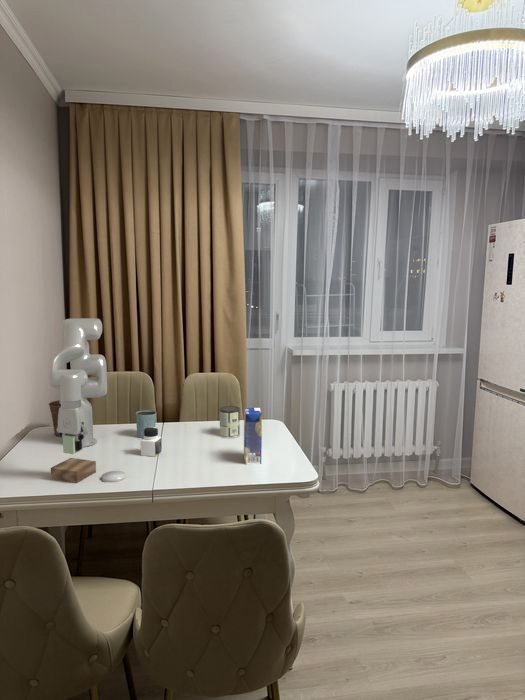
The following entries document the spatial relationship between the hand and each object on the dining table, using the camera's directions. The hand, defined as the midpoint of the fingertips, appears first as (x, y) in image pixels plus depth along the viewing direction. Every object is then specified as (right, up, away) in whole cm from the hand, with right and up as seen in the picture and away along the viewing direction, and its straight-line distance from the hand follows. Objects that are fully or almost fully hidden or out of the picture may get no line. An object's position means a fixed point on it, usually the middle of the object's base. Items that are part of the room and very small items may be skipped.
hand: (72, 448), depth 203 cm
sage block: (0, -1, 0) cm, 1 cm away
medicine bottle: (+25, -8, +28) cm, 39 cm away
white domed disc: (+16, -12, 0) cm, 20 cm away
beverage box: (+71, -9, +22) cm, 74 cm away
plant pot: (-24, -3, +57) cm, 62 cm away
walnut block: (0, -11, +2) cm, 12 cm away
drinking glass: (+17, -4, +55) cm, 57 cm away
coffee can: (+58, -4, +57) cm, 82 cm away
